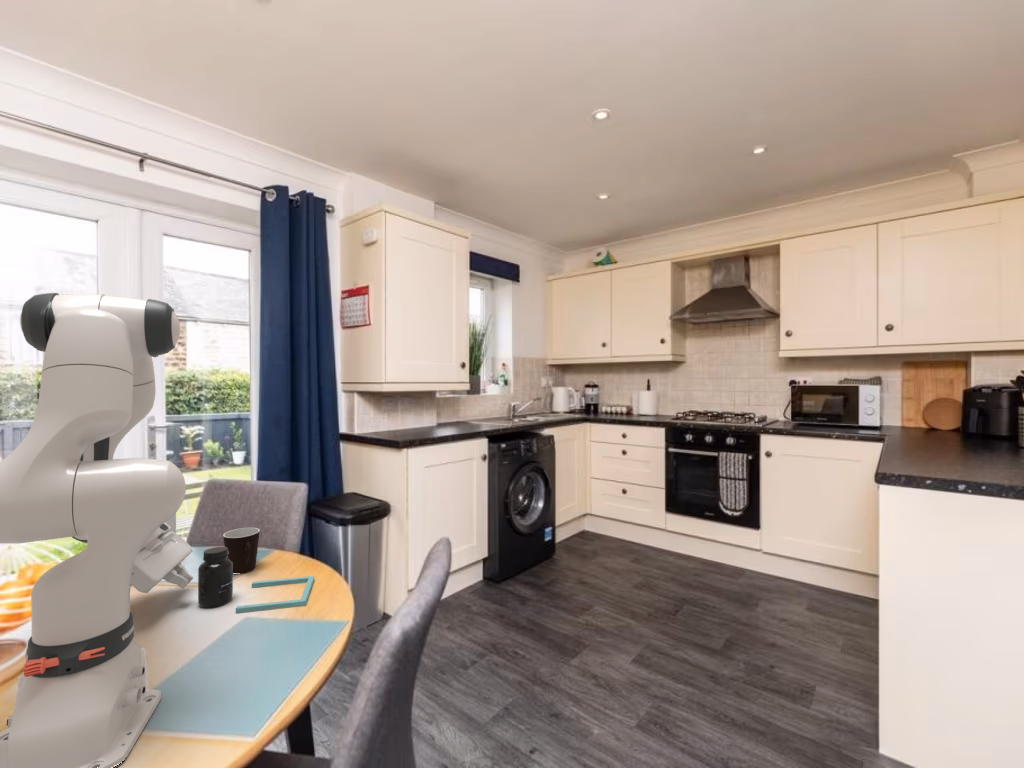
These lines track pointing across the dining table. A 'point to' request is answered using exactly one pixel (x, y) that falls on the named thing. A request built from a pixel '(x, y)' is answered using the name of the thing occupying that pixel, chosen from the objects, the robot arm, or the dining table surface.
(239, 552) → the coffee mug
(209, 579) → the supplement bottle
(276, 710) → the dining table surface
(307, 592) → the teal frame
